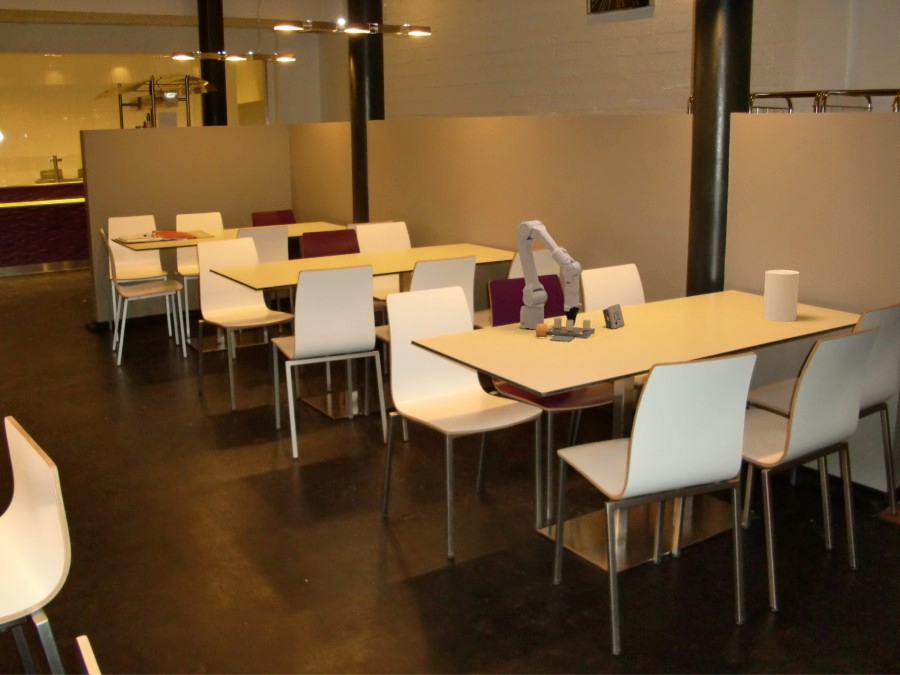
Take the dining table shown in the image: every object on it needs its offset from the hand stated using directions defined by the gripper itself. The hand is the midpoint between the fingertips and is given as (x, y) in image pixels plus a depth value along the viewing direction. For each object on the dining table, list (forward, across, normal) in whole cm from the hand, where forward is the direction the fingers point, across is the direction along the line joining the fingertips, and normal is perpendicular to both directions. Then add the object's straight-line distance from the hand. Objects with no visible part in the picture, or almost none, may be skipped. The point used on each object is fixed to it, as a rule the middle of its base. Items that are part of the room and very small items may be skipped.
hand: (571, 325), depth 368 cm
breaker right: (+1, +1, -6) cm, 6 cm away
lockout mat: (+3, -12, 0) cm, 13 cm away
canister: (+3, +57, -75) cm, 94 cm away
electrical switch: (+3, +17, -13) cm, 22 cm away
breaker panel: (+3, -2, 0) cm, 3 cm away
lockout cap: (+3, -11, +9) cm, 14 cm away
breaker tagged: (+1, -2, 0) cm, 3 cm away
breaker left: (+1, +1, +6) cm, 6 cm away
